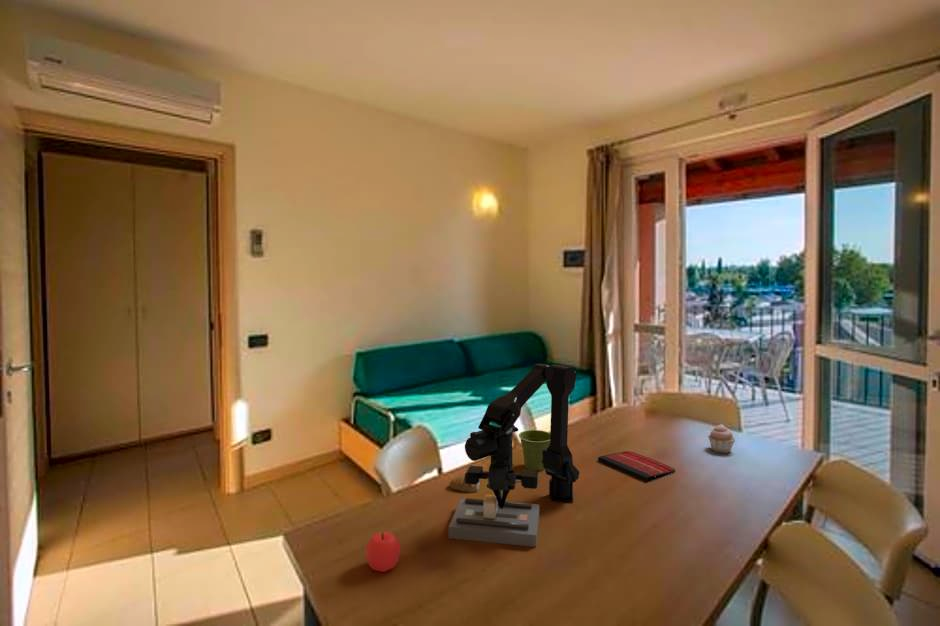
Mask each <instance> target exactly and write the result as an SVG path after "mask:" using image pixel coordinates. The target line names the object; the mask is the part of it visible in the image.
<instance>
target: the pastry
mask: <svg viewBox="0 0 940 626" xmlns="http://www.w3.org/2000/svg"><path fill="white" fill-rule="evenodd" d="M480 482H481V481H480V480H479V482H478V483H477V484H466V483H465V476H461V477H456V478H454V479H452V480H451V481H450V482H449V486H450V488H451V489H453V490H454V491H455V490H456V491H460V492H466V491H467V492H469V493H476V492H479V489H480V485H481V483H480Z"/></svg>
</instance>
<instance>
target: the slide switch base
mask: <svg viewBox="0 0 940 626" xmlns="http://www.w3.org/2000/svg"><path fill="white" fill-rule="evenodd" d="M484 500H485V499H480V498H467V497H466V498H465V497H462V498H460V501H459V503H458V505H457V507H456V510H455V512H454V514H453V516H452V518H451V520H450V522H449V525H448V528H447V529H448V539H452V538H453V539H455V540H462V539H464V541H472V540H475V542H481V543H482V542H484V543H493V544H495V543H496V544H504V545H512V546H513V545H514V546H524V547H534V548H536V547H537V542H538V541H537V540H538V531H539V521H540V506H541V505H540V504H537V503H526V502H517V501H507V500H506V501H505V504H504V507H503V509H500V507H499V504H498V510H497V513H496V517H495V519H492V518H484V512H483V503H484ZM453 539H452V540H453Z"/></svg>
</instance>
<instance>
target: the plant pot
mask: <svg viewBox="0 0 940 626" xmlns="http://www.w3.org/2000/svg"><path fill="white" fill-rule="evenodd" d="M518 437H519V439H520V444H521V447H522V453H523V454H522V456H523V459H524V460H523V462H524V466H525V468H526V469H527V470H536V471H538V472H540V471H545V468H544V467H543V463H542V459H543V454H542V452H543V450H546V449H547V447H548V446H549V445H550V431H546V430H540V429H528V430H524V431H523V430H522V431H521V432H520V433H518Z"/></svg>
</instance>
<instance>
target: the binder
mask: <svg viewBox="0 0 940 626" xmlns="http://www.w3.org/2000/svg"><path fill="white" fill-rule="evenodd" d="M597 461H598V462H599V463H601V464H603V465H606V466H608V467H610V468H612V469H615V470H617V471H620V472H622V473H624V474H625V475H628V476H631V477H633V478H636V479H637V480H640V481H642V482H645V483H648V480H651V479H652V477H653V478H655V476H656V478H655V480H658V479H661V478H664V477H666V475H667V476H669V475H672V474H675V473H676V469H675V468H673V467H671V466H669V465H667V464H665V463H662V462H659V461H657V460H655V459H653V458H650V457H647V456H644V455H641V454H639V453H635V452H633V451H628V450H625V451H621V452H615V453H611V454H610V453H609V454H607V455H601V456H598V457H597ZM671 473H672V474H671ZM668 474H669V475H668Z"/></svg>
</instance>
